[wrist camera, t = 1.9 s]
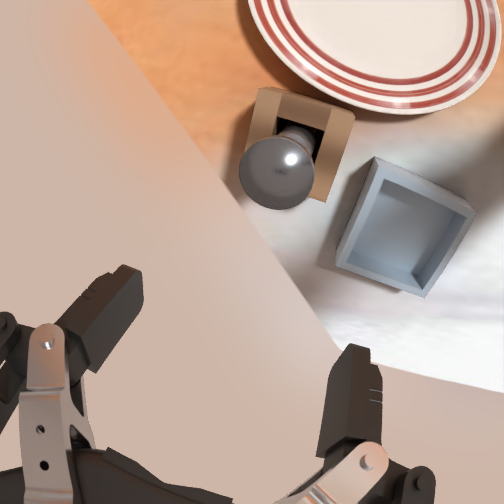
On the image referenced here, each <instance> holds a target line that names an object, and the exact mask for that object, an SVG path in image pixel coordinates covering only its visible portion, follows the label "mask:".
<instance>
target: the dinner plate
mask: <svg viewBox="0 0 504 504" xmlns="http://www.w3.org/2000/svg"><path fill="white" fill-rule="evenodd" d="M248 3H249V7H250V11H251V14H252V16H253V19H254V21H255V24H256V26H257V28H258V30H259V32H260V33H261V35H262V37H263V38H264V40H265V41H266V43H267V44H268V45H269V47H270V48H271V49H272V50H273V52H274V53H275V54H276V55H277V56H278V57H279V58H280V59H281V60H282V62H283V63H284V64H285V65H287V66H288V67H289V68H290V69H291V70H292V71H293V72H295V73H296V74H297V75H298V76H300V77H301V78H302V79H304V80H305V81H306V82H308V83H309V84H311V85H312V86H314V87H315V88H317V89H319V90H321V91H322V92H324V93H326V94H328V95H330V96H332V97H334V98H336V99H338V100H340V101H343V102H345V103H348V104H351V105H353V106H356V107H360V108H364V109H367V110H371V111H376V112H381V113H387V114H398V115H415V114H425V113H431V112H436V111H439V110H443V109H446V108H448V107H451V106H453V105H455V104H457V103H459V102H461V101H463V100H464V99H466V98H467V97H469V96H470V95H471V94H473V93H474V92H475V91H476V90H477V89H478V88H479V87H480V86H481V85H482V84H483V83H484V82H485V80H486V79H487V78H488V76H489V74H490V73H491V71H492V69H493V67H494V65H495V62H496V60H497V57H498V54H499V49H500V44H501V20H500V14H499V9H498V5H497V2H496V0H248Z"/></svg>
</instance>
